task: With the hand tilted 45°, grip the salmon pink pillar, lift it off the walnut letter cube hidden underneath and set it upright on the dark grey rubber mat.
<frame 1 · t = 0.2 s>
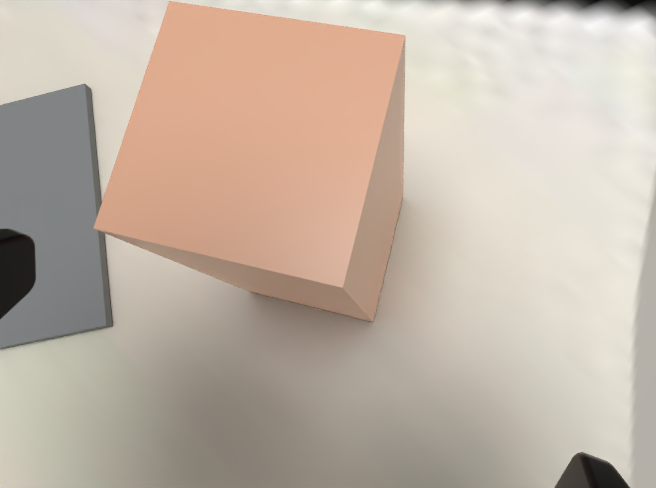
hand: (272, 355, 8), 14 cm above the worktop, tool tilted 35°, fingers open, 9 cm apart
salmon pink pillar: (326, 244, 23), on the worktop
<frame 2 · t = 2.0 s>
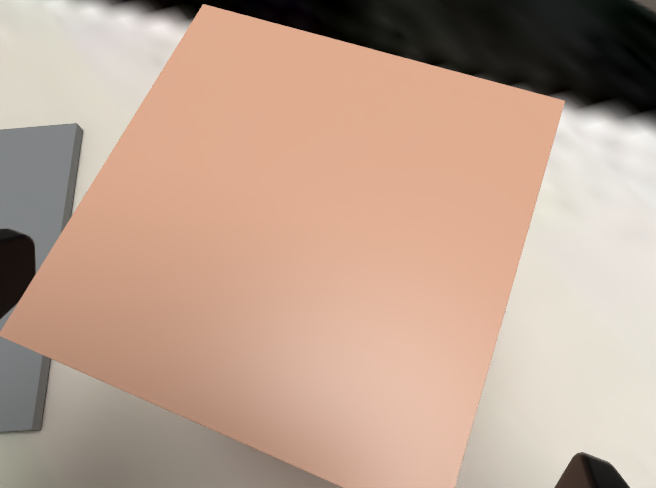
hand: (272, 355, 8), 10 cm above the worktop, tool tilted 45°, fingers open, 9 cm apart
salmon pink pillar: (337, 361, 18), on the worktop
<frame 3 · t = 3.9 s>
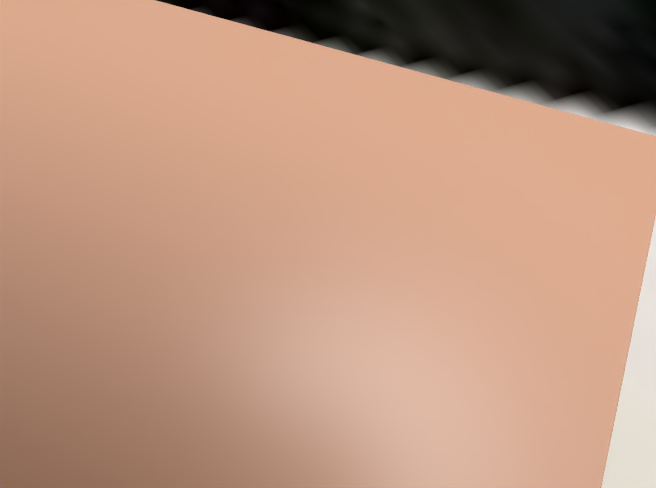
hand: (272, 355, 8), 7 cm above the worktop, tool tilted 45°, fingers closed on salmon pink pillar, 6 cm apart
salmon pink pillar: (291, 446, 14), on the worktop, touching gripper
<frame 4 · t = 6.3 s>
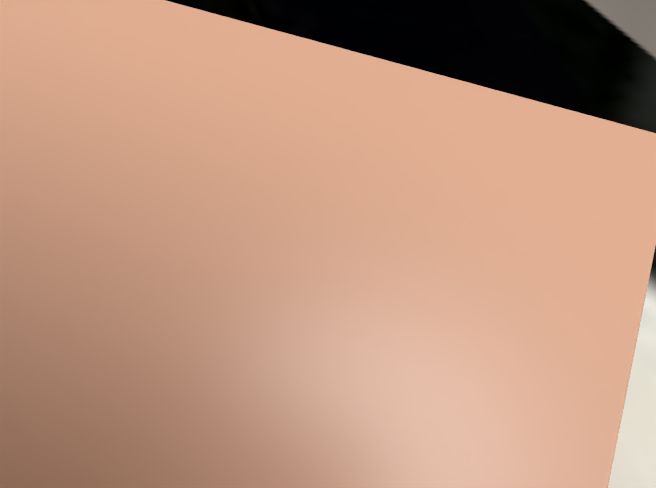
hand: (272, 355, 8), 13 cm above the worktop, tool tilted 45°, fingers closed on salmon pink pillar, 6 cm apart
salmon pink pillar: (293, 446, 14), point 7 cm above the worktop, touching gripper
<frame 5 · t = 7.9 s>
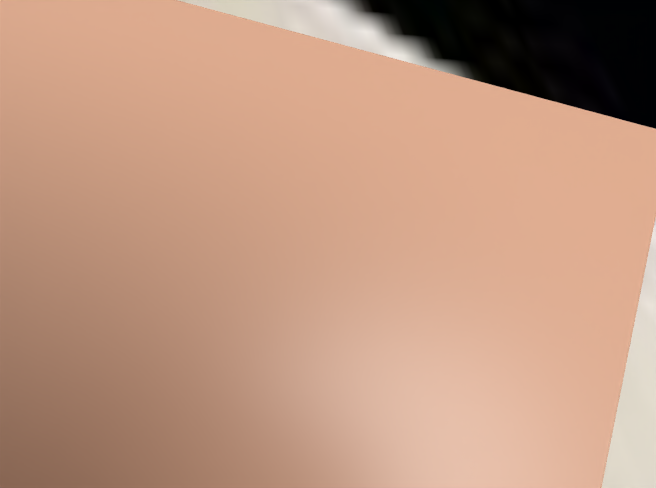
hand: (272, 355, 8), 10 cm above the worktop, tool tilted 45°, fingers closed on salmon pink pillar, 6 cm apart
salmon pink pillar: (292, 445, 14), point 3 cm above the worktop, touching gripper
when the fingers open (8 cm above the worktop, at t = 9.0 s): salmon pink pillar drops 1 cm, resting on rubber mat.
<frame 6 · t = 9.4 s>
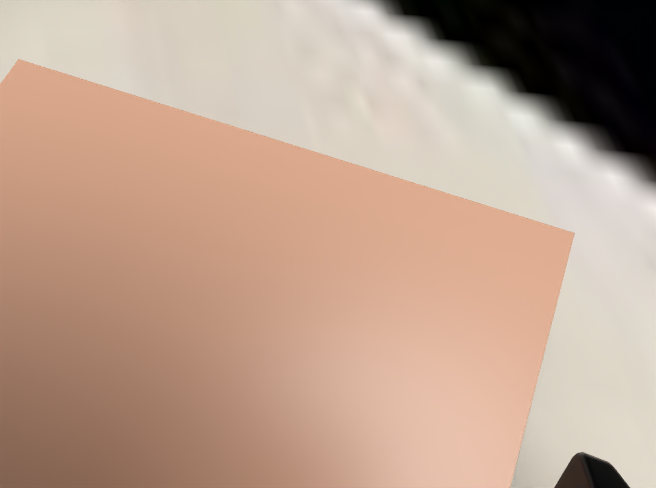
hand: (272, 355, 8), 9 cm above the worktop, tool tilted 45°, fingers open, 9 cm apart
salmon pink pillar: (299, 445, 15), resting on rubber mat
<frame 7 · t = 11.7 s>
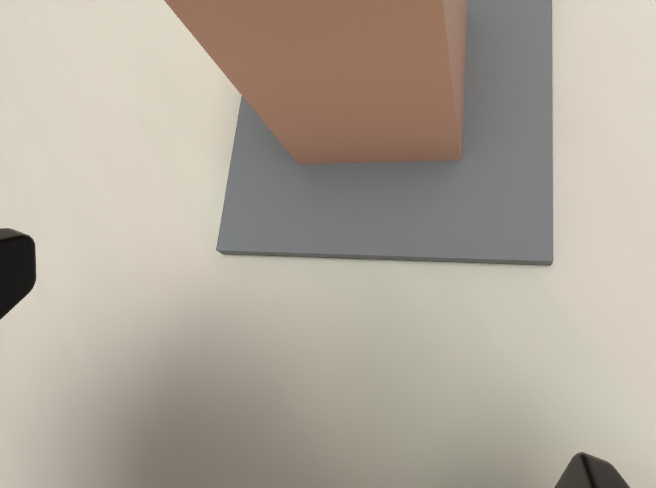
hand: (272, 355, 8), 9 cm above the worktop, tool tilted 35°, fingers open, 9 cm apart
salmon pink pillar: (382, 88, 18), resting on rubber mat
rubber mat: (385, 97, 19), on the worktop
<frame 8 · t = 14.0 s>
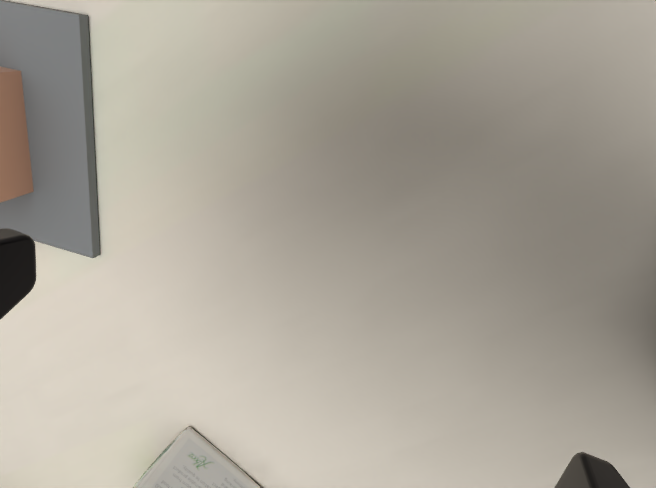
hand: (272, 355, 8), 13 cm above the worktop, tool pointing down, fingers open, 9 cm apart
syrup box: (207, 478, 30), on the worktop
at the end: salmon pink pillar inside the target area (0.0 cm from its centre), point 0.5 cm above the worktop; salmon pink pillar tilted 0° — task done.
